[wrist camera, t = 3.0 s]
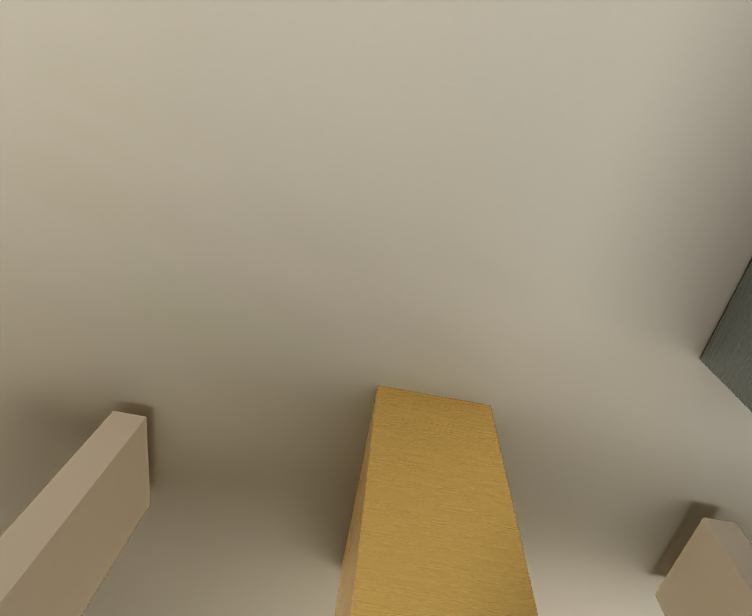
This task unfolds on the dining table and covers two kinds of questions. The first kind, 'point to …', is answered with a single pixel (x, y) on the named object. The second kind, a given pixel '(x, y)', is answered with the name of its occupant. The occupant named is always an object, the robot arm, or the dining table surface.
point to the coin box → (734, 343)
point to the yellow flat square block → (433, 516)
